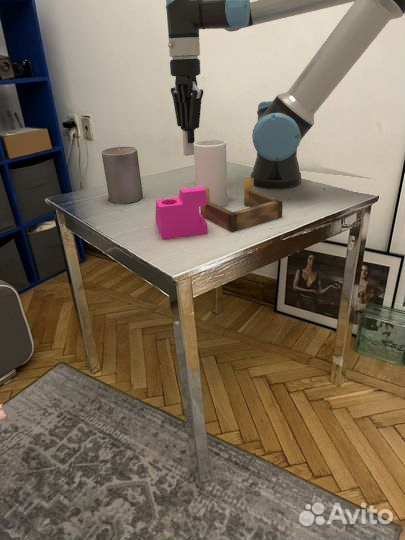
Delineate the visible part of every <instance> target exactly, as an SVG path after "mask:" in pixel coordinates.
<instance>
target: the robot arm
mask: <svg viewBox="0 0 405 540" xmlns="http://www.w3.org/2000/svg"><path fill="white" fill-rule="evenodd" d="M165 1H166V3H165V4H166V5H165V9H166V18H167V34H168V44H167V46H168V49H169V51H168V52H169V57H170V58H172V59H170V61H169V66H170V67H169V68H170V69H169V70H170V76H172V77H175V80H174V84H175V86H174V87H171V88H170V93H171V97H172V100H173V105H174V111H175V112H174V114H175V118H176V119H175V120H176V125H177V126H178V127H180V129H181V131H182V145H183V146H182V147H183V156H186V157H187V156H189V157H190V156H194V142H196V141H195V130H196V129H199V128H200V119H201V109H202V99H203V97H204V89H200V88H199V87H198V80H197V76H199V75H201V60H200V59H199V57H200V56H201V47H200V30H215V29H216V30H217V29H218V30H219V29H220V30H221V29H223V30H224V31H227V32H230V33H231V32H237V31H239V30H241V29H244V28H249V27H252V26H256V25H260V24H265V23H268V22H272V21H278V20H281V19H286V18H290V17H295V16H299V15H302V14H307V13H312V12H316V11H319V10H323V9H328V8H333V7H336V6H341V5H345V4H349V3H352V5H351V6H350V7H349V8H348V9H347V11H346V13H345V14H344V15H343V16H342V18H341V19H340V21H339V22H338V23H337V24H336V26H335V27H334V29H333V30H332V31H331V33H330V34H329V36H328V37H327V38H326V40H325V41H324V42H323V43H322V44H321V46H320V48H319V49H318V50H317V52H316V53H315V54H314V56H313V57H312V58H311V59H310V61H309V62H308V63H307V65H306V67H304V69H303V70H302V72H301V73H300V75H298V77H297V78H296V80H295V81H294V82H293V84H292V85H291V86H290V88H289V89H288V91H286V92H282V93H277V95H276V96H275V98H274V99H273V100H270V101H261V102H259V104H258V106H257V111H256V114H257V122H256V123H255V125H254V127H253V129H252V135H251V136H252V144H253V146H254V147H253V148H254V149H255V151H256V152H257V153H256V158H255V162H254V164H253V169H252V171H251V173H250V177H251V178H254V186H255V187H258V188H261V189H262V188H263V189H271V190H272V189H273V190H274V189H275V190H280V189H282V190H283V189H288V188H294V187H297V186H299V185H300V184H301V183H302V172H301V171H300V165H299V161H298V155H297V153H298V147H299V146H300V143H301V140H303V138H304V137H305V136H306V134H307V133H308V132H309V131H310V129H311V128H312V127H313V126H314V125H315V114H316V112H317V111H318V110H319V109H320V108H321V106H322V105H323V104H324V103H325V101H326V100H327V99H328V98H329V97H330V95H331V94H332V93H333V91H334V90H335V89H336V87H337V86H338V85H339V84H340V83H341V81H343V79H344V78H345V77H346V76H347V74H348V73H350V72H349V71H351V70H352V68H353V67H354V66H355V64H356V63H357V61H358V60H359V59H360V58H361V57H362V56H363V54H364V53H365V52H366V50H367V49H369V47H370V45H371V44H373V42H374V41H375V40H376V38H377V37H378V35H379V34H381V32H382V31H383V29H385V27H386V25H388V23H389V22H390V21H391V20H395V19H398V18H402V17H403V16H404V15H405V0H165Z"/></svg>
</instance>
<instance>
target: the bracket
mask: <svg viewBox="0 0 405 540" xmlns="http://www.w3.org/2000/svg"><path fill="white" fill-rule="evenodd" d="M206 205H207V203H206V189H205V188H204V187H196V186H195V187H188V188H180V189H179V194H178V197H171V198H170V197H167V198H161V199H156V200H155V216H154V217H155V224H156V225H157V229H158V231H159V234H160V237H161V240H162V241H165V240H173V239H182V238H189V237H195V236H204V235H208V234H209V233H208V228H209V227H208V223H207V221H206V219H205V218H203V217H202V215H201V211H200V207H199V206H206Z"/></svg>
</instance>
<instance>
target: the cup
mask: <svg viewBox="0 0 405 540" xmlns="http://www.w3.org/2000/svg"><path fill="white" fill-rule="evenodd" d="M193 159H194V161H193V162H194V175H195V180H194V181H195V188H196V187H204V188H209V192H210V202H212V203H214V204H217V205H219V206H221V207H224V206H225V207H226V205H228V183H227V182H228V180H227V179H228V178H227V177H228V175H227V174H228V172H227V171H228V169H227V141H226V140H224V139H215V138H212V139H210V138H208V139H200V140H196V141H194V155H193ZM199 208H200V206H199Z"/></svg>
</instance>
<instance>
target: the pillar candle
mask: <svg viewBox="0 0 405 540" xmlns="http://www.w3.org/2000/svg"><path fill="white" fill-rule="evenodd" d="M101 157H102V164H103V170H104V175H105V176H104V177H105V181H106V188H107V195H108V201H109V202H110V203H112V204H117V205H126V204H131V203H136V202H138V201H141V200H142V199H143V198H144V197H143V196H144V195H143V193H144V191H143V185H142V178H141V170H140V169H141V168H140V164H139V163H140V162H139V154H138V149H137V148H136V147H133V146H115V147H111V148H105V149H104V150H102V151H101Z"/></svg>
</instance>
